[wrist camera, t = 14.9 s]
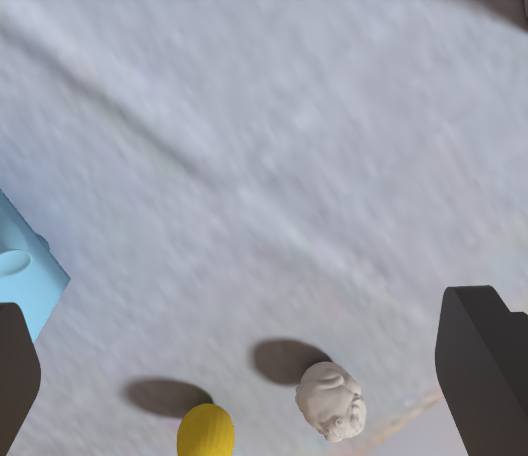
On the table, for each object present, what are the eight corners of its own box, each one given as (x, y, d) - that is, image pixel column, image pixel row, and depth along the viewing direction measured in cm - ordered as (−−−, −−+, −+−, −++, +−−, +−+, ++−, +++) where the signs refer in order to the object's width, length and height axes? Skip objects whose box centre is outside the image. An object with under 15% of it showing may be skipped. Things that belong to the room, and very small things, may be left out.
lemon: (172, 397, 52) (159, 467, 45) (220, 379, 51) (214, 448, 44) (199, 430, 54) (190, 501, 47) (245, 414, 53) (243, 484, 46)
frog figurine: (327, 404, 53) (336, 463, 46) (278, 370, 50) (281, 428, 44) (371, 371, 50) (387, 429, 44) (322, 335, 48) (331, 390, 42)
